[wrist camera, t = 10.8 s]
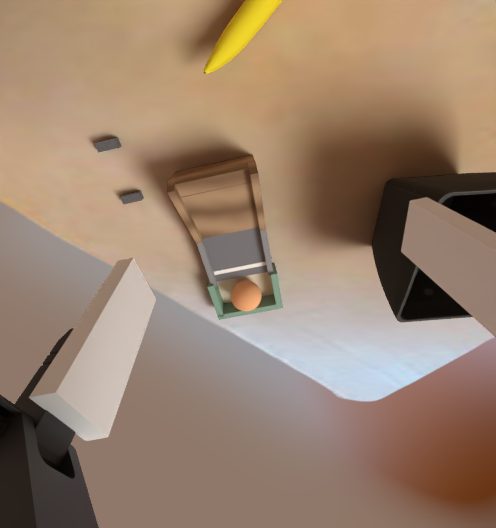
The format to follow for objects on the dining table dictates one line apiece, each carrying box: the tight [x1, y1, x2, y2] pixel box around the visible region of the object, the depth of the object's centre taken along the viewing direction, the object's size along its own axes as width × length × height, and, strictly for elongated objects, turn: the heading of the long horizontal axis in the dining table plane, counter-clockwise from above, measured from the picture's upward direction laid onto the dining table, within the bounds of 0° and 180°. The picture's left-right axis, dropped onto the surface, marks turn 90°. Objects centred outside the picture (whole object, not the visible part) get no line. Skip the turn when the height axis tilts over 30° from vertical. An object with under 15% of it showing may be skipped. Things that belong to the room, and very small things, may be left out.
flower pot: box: [372, 172, 496, 322], centre depth 38 cm, size 19×19×17 cm
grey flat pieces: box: [94, 137, 144, 204], centre depth 38 cm, size 9×3×1 cm, turn 11°
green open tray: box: [207, 263, 283, 320], centre depth 50 cm, size 9×13×4 cm, turn 101°
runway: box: [197, 227, 273, 286], centre depth 46 cm, size 10×12×3 cm
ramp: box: [167, 155, 266, 244], centre depth 39 cm, size 12×12×8 cm
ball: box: [231, 280, 262, 311], centre depth 49 cm, size 6×6×6 cm
